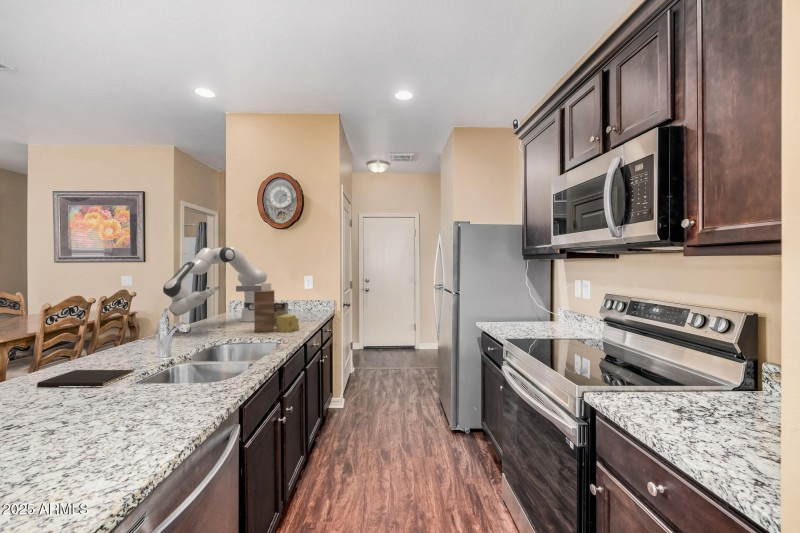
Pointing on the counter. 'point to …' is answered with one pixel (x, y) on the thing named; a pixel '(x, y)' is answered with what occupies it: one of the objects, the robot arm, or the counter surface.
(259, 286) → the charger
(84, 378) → the hardcover book
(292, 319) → the cheese
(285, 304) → the coffee box
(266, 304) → the stand
